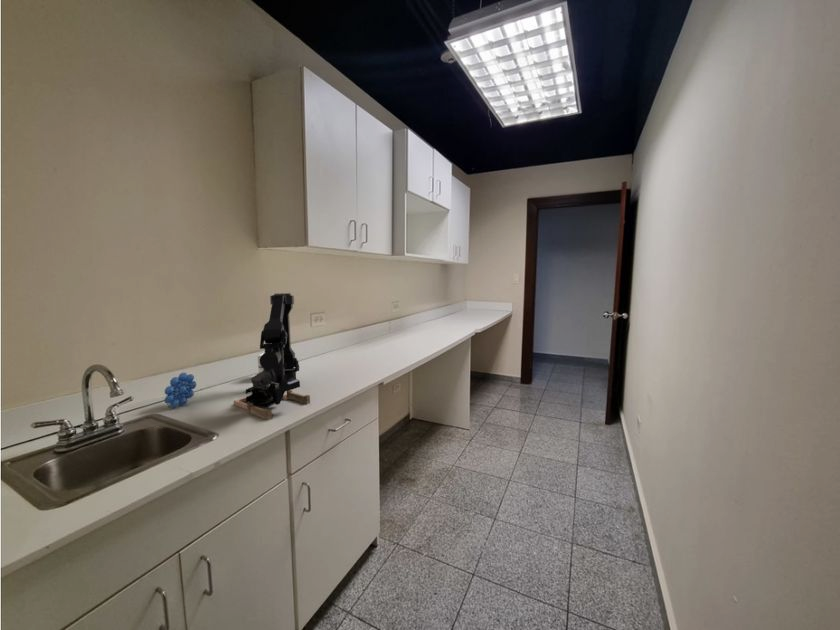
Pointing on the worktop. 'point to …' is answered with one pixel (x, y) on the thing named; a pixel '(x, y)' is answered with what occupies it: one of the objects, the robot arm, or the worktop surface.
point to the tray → (244, 405)
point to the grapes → (180, 390)
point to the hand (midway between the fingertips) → (277, 404)
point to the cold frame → (267, 413)
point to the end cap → (259, 397)
